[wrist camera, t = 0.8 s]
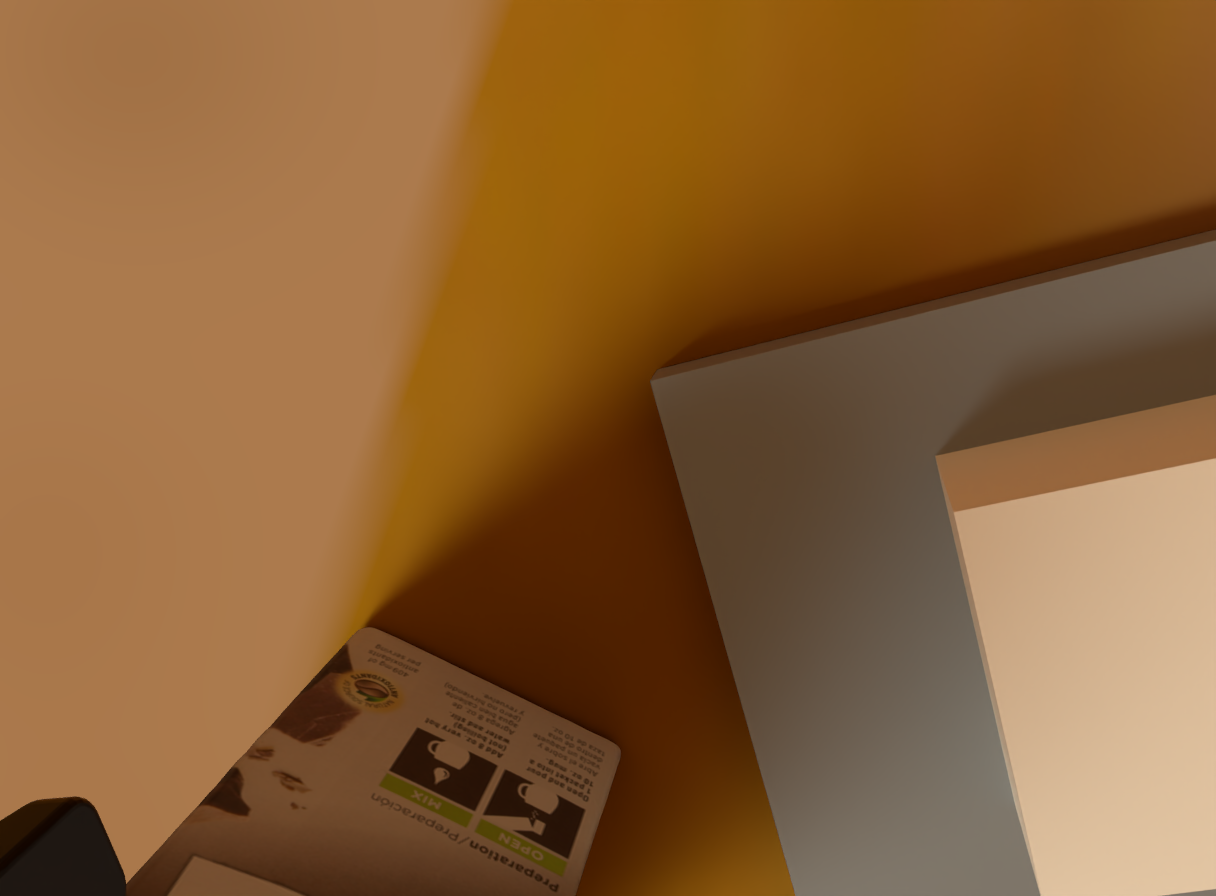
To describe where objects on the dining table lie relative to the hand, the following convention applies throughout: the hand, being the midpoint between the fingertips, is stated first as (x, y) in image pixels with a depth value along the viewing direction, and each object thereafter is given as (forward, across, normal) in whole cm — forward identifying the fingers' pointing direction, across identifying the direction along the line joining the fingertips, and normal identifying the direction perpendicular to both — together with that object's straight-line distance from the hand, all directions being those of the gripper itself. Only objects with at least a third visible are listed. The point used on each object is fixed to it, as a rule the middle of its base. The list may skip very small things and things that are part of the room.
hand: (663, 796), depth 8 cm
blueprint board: (+12, -8, +6) cm, 16 cm away
